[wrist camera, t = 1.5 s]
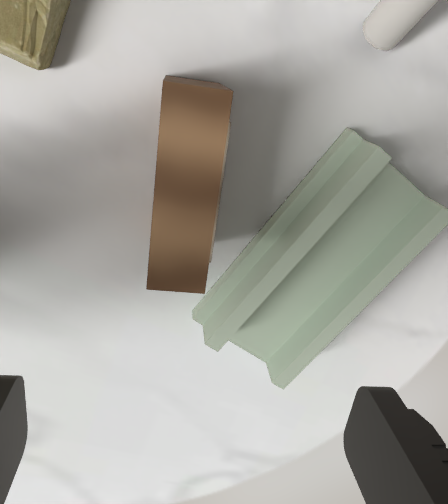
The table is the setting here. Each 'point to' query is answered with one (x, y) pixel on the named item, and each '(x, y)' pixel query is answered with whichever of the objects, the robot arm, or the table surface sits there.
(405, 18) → the wall hook
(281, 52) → the table surface
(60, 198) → the table surface
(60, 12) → the decorative tile
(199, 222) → the wooden picture frame
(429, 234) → the pale green channel holder
